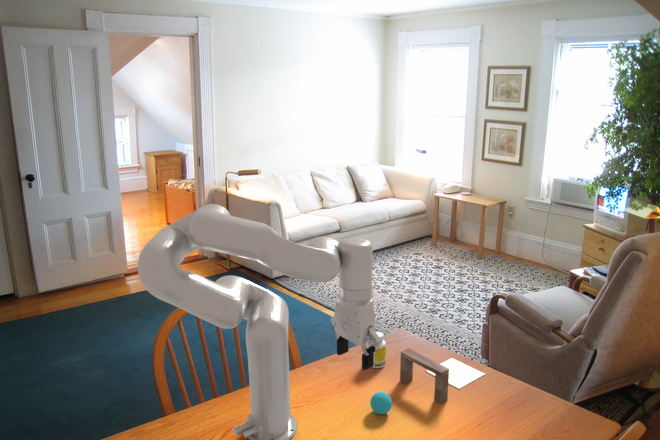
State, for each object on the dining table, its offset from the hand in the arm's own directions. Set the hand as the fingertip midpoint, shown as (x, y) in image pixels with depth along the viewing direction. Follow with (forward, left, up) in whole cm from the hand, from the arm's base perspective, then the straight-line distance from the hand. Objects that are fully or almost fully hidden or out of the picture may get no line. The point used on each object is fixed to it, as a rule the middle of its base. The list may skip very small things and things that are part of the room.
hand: (354, 360), depth 125 cm
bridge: (+25, 0, -18) cm, 31 cm away
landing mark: (+39, 0, -18) cm, 43 cm away
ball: (+9, 0, -15) cm, 18 cm away
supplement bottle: (+25, +18, -18) cm, 36 cm away
